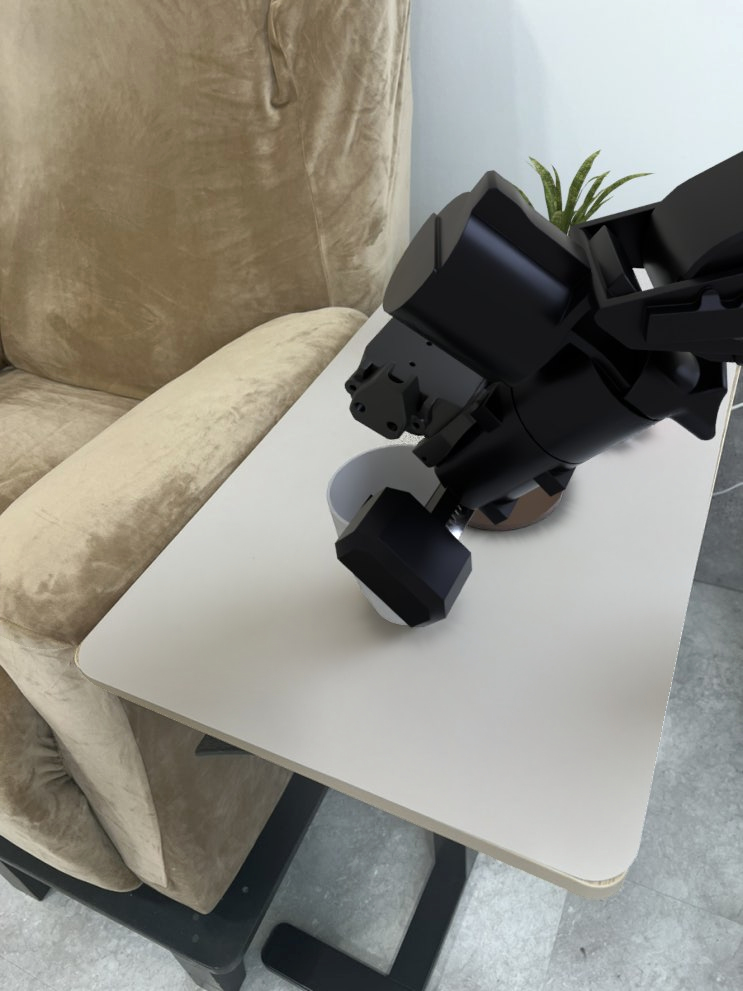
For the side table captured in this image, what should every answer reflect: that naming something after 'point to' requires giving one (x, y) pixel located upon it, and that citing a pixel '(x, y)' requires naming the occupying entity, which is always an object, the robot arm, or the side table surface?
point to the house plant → (573, 194)
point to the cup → (370, 477)
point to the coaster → (521, 511)
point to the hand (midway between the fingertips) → (379, 520)
